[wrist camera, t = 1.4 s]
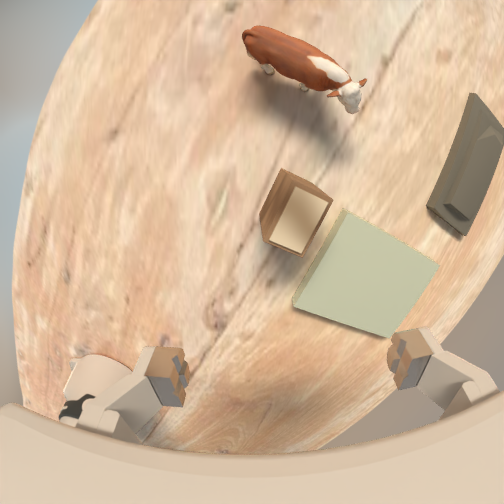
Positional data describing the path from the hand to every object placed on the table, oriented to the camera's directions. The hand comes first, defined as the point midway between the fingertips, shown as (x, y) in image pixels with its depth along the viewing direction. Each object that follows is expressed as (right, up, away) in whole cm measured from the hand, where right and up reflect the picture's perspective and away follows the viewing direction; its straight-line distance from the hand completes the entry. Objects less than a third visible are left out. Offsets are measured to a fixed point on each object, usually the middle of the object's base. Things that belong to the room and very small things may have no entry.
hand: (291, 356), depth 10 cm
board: (+15, 0, +27) cm, 31 cm away
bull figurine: (+4, +24, +17) cm, 29 cm away
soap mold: (+31, +17, +21) cm, 41 cm away
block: (+2, +10, +22) cm, 25 cm away
